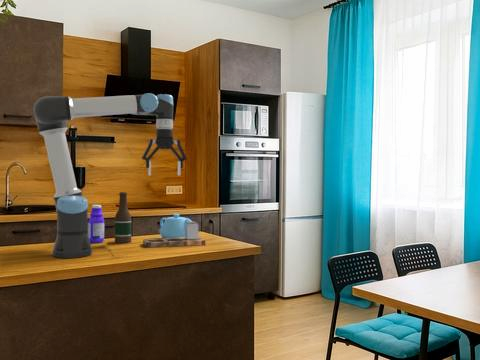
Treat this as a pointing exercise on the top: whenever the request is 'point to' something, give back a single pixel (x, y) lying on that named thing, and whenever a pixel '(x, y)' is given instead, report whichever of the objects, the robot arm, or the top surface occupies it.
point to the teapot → (173, 227)
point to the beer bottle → (123, 221)
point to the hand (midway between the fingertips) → (164, 175)
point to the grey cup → (191, 231)
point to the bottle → (96, 225)
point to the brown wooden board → (172, 242)
